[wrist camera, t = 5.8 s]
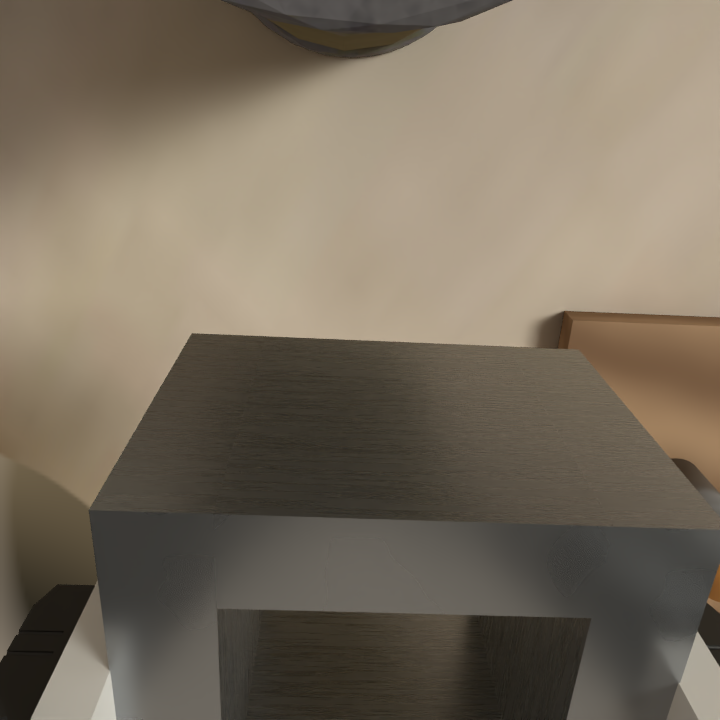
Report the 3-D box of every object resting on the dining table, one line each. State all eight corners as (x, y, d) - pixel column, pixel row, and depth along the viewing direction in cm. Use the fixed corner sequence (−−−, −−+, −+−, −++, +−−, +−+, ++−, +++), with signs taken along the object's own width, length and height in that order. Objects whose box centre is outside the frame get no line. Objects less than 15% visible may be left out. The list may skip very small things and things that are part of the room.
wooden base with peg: (564, 311, 29) (629, 381, 23) (831, 322, 30) (970, 393, 23) (512, 597, 36) (551, 716, 29) (734, 602, 36) (821, 721, 29)
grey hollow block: (191, 333, 14) (88, 510, 8) (578, 349, 14) (730, 530, 8) (206, 631, 17) (138, 903, 11) (522, 639, 17) (605, 908, 12)
